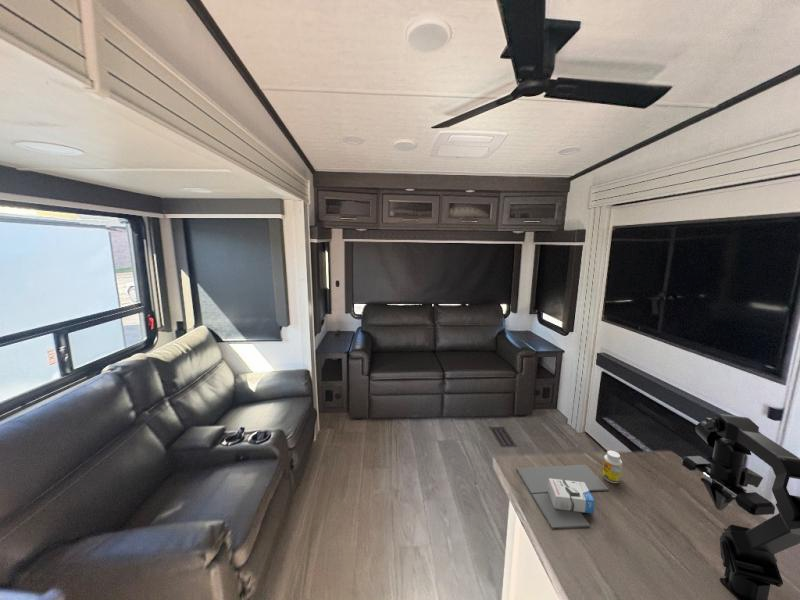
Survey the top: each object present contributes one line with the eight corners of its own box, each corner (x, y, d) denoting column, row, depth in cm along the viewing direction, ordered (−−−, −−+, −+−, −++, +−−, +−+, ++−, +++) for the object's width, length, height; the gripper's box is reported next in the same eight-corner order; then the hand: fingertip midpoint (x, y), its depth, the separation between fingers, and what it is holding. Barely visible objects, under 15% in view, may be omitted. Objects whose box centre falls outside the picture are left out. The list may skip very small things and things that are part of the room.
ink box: (595, 501, 97) (555, 496, 99) (593, 514, 98) (554, 509, 100) (584, 481, 105) (547, 477, 108) (583, 493, 106) (547, 489, 108)
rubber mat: (639, 524, 95) (640, 522, 95) (551, 528, 94) (552, 527, 94) (585, 466, 121) (586, 464, 121) (516, 469, 119) (516, 467, 119)
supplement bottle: (600, 471, 117) (602, 447, 116) (617, 475, 116) (620, 450, 114) (604, 482, 112) (606, 456, 111) (622, 485, 110) (625, 460, 109)
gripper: (801, 483, 74) (789, 538, 77) (719, 437, 93) (711, 483, 95) (758, 485, 74) (747, 541, 76) (684, 438, 92) (677, 484, 95)
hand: (719, 509), depth 86 cm, fingers closed
